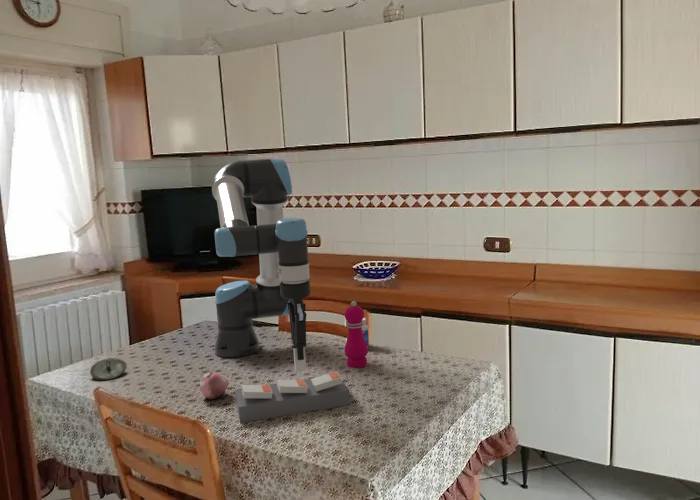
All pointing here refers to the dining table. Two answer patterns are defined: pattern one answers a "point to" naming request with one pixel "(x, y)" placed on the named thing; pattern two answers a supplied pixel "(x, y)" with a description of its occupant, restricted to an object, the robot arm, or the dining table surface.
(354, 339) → the pepper mill
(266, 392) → the rocker
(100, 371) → the lid
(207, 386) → the onion
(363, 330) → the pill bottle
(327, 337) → the dining table surface
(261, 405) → the switch panel
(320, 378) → the rocker
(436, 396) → the dining table surface
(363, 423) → the dining table surface
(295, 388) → the rocker
